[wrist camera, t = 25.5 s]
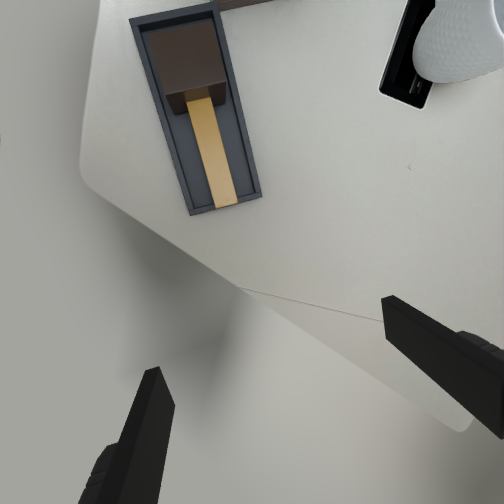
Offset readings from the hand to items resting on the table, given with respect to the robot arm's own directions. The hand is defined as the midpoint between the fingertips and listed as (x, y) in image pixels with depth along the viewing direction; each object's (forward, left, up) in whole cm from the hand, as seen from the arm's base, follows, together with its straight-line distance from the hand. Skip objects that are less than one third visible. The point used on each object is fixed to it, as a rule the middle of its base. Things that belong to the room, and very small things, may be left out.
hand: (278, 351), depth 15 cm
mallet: (-13, +11, -26) cm, 30 cm away
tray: (-14, +12, -27) cm, 32 cm away
